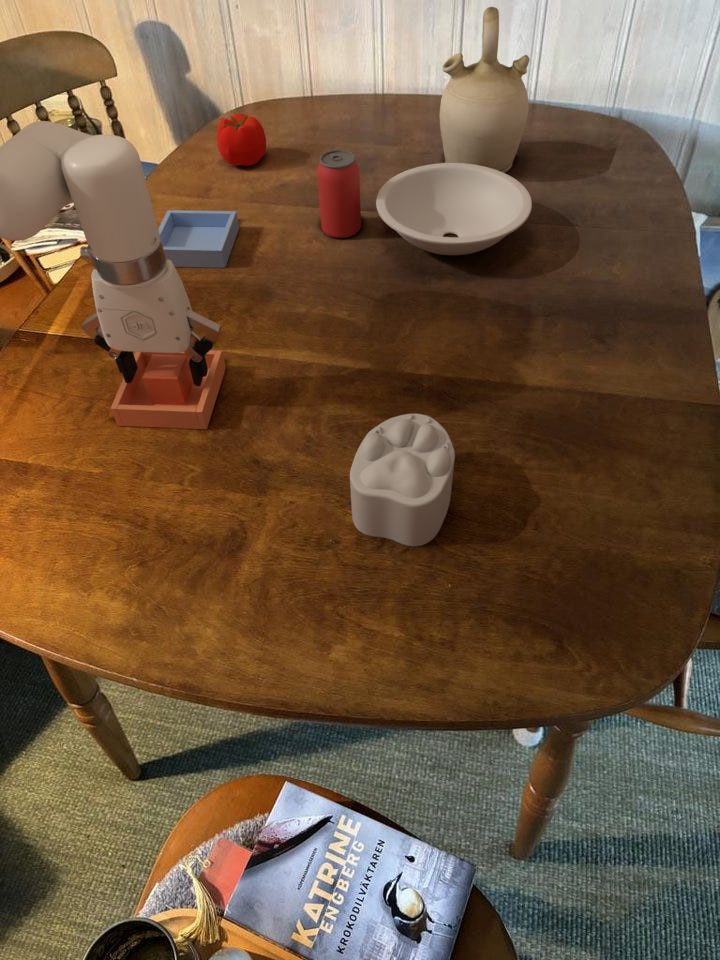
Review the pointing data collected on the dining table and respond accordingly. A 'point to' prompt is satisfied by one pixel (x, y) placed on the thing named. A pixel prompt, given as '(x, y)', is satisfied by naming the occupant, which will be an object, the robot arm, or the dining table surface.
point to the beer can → (339, 193)
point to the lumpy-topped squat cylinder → (403, 480)
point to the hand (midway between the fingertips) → (165, 376)
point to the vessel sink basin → (453, 206)
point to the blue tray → (198, 237)
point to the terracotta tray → (139, 411)
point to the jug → (484, 105)
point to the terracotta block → (168, 379)
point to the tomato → (241, 140)
